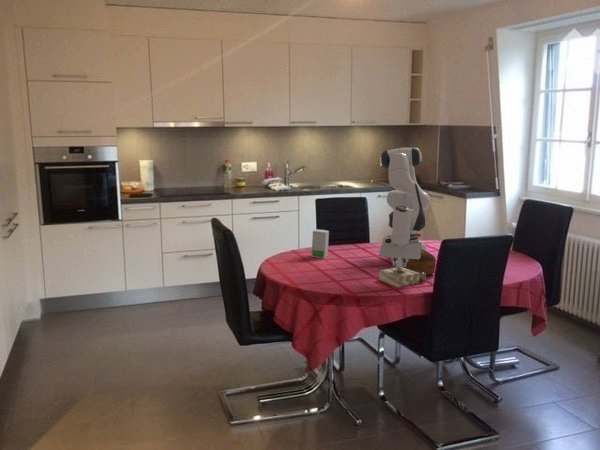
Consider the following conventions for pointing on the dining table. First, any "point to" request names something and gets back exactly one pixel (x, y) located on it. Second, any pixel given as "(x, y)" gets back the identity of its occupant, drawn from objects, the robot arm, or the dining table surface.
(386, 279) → the birch block
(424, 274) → the short bronze pin
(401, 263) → the tall steel pin
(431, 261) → the bread
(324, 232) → the skincare box
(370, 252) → the dining table surface
